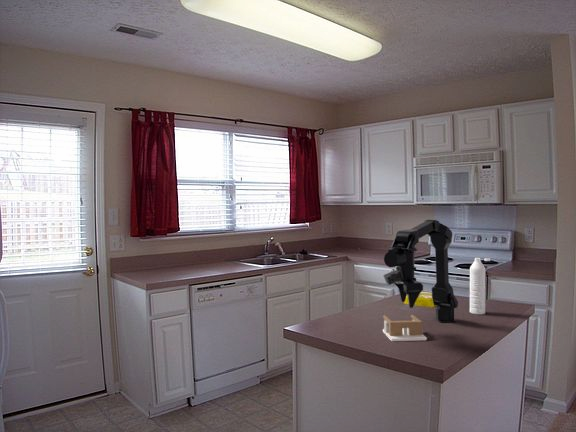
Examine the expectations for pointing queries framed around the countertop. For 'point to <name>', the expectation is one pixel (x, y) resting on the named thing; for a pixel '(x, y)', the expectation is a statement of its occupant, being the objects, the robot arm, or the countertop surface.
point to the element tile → (423, 300)
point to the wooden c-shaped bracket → (397, 326)
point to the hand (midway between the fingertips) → (407, 304)
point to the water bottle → (477, 287)
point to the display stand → (405, 334)
